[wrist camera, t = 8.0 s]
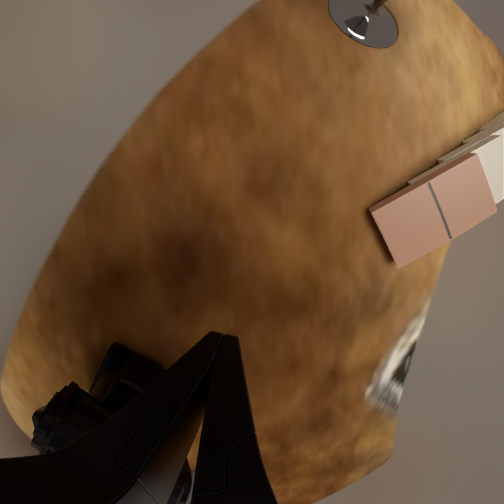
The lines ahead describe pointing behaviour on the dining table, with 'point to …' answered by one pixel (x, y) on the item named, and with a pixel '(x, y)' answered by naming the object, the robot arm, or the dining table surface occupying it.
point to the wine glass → (365, 21)
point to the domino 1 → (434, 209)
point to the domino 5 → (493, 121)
